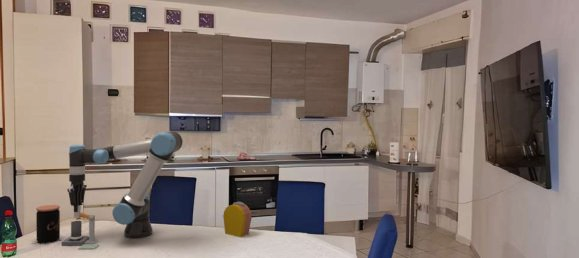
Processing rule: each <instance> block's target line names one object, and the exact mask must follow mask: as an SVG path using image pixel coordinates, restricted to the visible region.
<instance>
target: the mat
mask: <svg viewBox="0 0 579 258" xmlns="http://www.w3.org/2000/svg"><path fill="white" fill-rule="evenodd" d="M99 246H100V243H98V244H97V243H95V244H83V245H82V246H78V248H77V249H78V250H96V249H97V248H98V247H99Z"/></svg>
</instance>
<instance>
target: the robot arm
mask: <svg viewBox="0 0 579 258" xmlns="http://www.w3.org/2000/svg"><path fill="white" fill-rule="evenodd" d="M183 142H184V140H183V138H182V136H181V134H180V133H179V132H176V131H162V132H159V133H157V134H155V135H154V136H153V137H152V138H149V139H143V140H139V141H134V142H128V143H127V142H126V143H123V144H118V145H117V144H116V145H111V146H106V147H100V148H96V149H95V148H86V145H84V144H72V145H70V146H69V152H68V158H69V159H68V160H69V166H68V167H69V169H68V170H69V171H68V172H69V175H68V178H69V179H68V181H69V182H70V188H66V189H67V192H68V193H67V194H68V197H69V202H70V206H72V207H73V218H74V219H76V218H80V213H81V207H82V206H83V205H84V202H85V196H86V188H87V184H85V183H84V182H85V181H86V174H85V173H86V164H99V165H100V164H106V163H107V162H108V161H113V160H118V159H123V158H129V157H134V156H139V155H145V154H149V156H148V157H147V159H146V161H145V163H144V165H143V166H142V168H141V170H140V172H139V173H138V175H137V177H136V179H135V181H134V183H133V184H132V186H131V188H130V189H129V191H128V193H125V194H124V195H123V196H122V197H121V199H120V201H119V203H117V204H116V205H115V206H114V207H113V209H112V213H111V214H112V217H113V219H114V221H115V222H116V223H117V224H120V225H122V226H123V225H124V226H125V225H126V226H125V228H124V231H123V236H124V237H125V238H127V239H128V238H129V239H139V238H140V239H141V238H146V237H149V236H151V235H153V232H154V231H153V230H154V229H153V226H152V223H151V221H150V203H151V202H150V201H151V200H150V199H151V198H150V195H149V194H148V193H149V191H150V190H151V188H152V186H153V185H154V182H155V181H156V179H157V178H158V175H159V173H160V172H161V170H162V168H163V166H164V164H165V163H166V162H169V161H170V160H171V158H172V157H173V154H174V153H177V152H178V151H179V150H180V149H181V148H182V146H183V145H184V144H183Z"/></svg>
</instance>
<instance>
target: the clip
mask: <svg viewBox="0 0 579 258" xmlns="http://www.w3.org/2000/svg"><path fill="white" fill-rule="evenodd" d="M95 216H96V215H90V214H87V213H83V212H80V218H75V220H76V221H79V220H81V219H83V218H84V219H86V220H88V221H90V220H95V219H96V218H95ZM95 221H96V220H95Z"/></svg>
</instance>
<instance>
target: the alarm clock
mask: <svg viewBox="0 0 579 258" xmlns="http://www.w3.org/2000/svg"><path fill="white" fill-rule="evenodd" d="M222 217H223V225H224V227H223V228H224V233H225V235H229V236H233V237H237V238H242V237H246V236H248V235H249V234H250V229H251V228H250V227H251V222H252V217H253V216H252V211H251V209H250V208H249V207H248V205H246V203H244V202H241V201H236V202H235V201H234V202H233V203H232V204H231V205H228V206H227V207H225V209H224V211H223V215H222Z"/></svg>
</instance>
